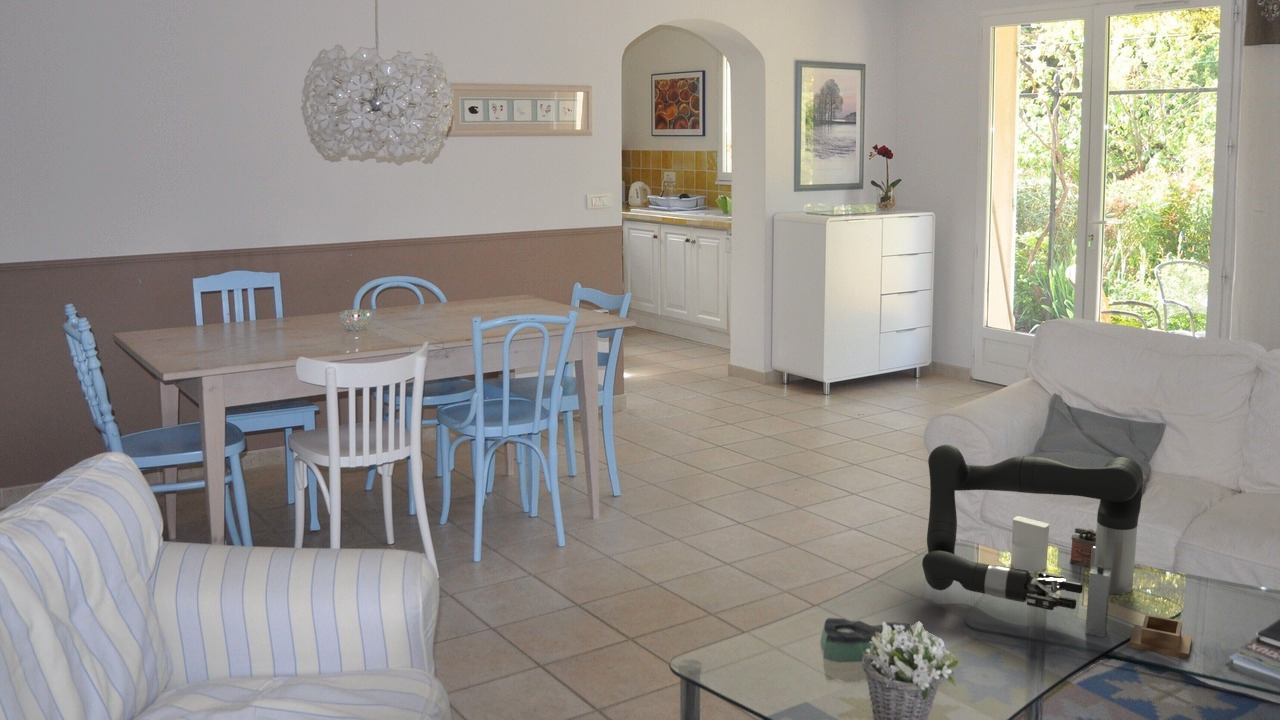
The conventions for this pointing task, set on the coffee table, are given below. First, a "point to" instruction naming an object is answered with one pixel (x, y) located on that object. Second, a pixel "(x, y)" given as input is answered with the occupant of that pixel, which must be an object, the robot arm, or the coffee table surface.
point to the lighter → (1082, 547)
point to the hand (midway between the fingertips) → (1079, 596)
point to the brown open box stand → (1161, 637)
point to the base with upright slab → (1029, 544)
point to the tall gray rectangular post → (1098, 600)
